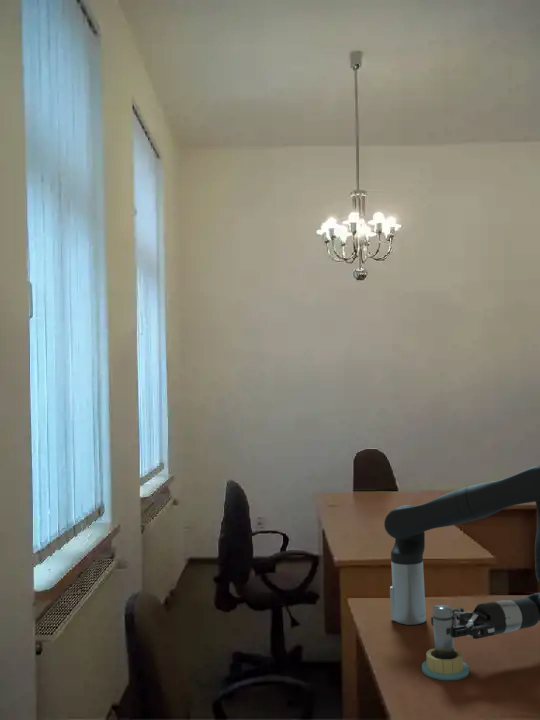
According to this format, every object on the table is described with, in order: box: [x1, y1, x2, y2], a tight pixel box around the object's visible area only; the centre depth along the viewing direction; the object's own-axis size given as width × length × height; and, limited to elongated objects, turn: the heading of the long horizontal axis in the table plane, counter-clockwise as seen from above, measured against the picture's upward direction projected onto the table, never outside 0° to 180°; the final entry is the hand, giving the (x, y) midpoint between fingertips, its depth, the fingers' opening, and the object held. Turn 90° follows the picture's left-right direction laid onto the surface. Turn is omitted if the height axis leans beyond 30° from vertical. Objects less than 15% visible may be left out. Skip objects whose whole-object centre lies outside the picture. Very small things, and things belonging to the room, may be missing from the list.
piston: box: [432, 604, 455, 659], centre depth 170 cm, size 5×5×14 cm
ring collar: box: [421, 647, 470, 682], centre depth 169 cm, size 11×11×4 cm
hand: (441, 627), depth 169 cm, fingers open, 8 cm apart
